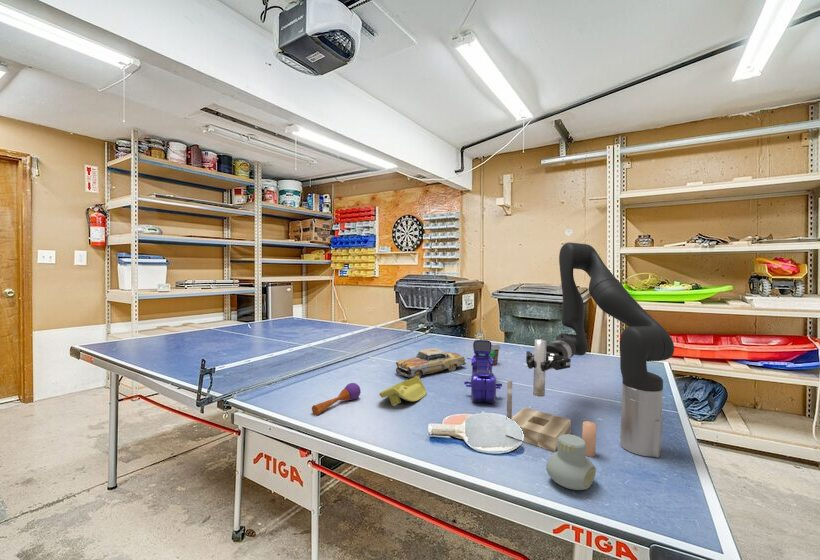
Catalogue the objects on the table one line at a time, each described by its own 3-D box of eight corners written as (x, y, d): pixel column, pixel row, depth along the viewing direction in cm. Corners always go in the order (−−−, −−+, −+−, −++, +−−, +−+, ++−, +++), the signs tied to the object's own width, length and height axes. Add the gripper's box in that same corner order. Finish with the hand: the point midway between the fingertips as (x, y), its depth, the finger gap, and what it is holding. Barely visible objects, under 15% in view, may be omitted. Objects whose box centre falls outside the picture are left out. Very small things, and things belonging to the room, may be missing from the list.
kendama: (307, 401, 121) (350, 380, 137) (311, 418, 121) (353, 396, 137) (319, 402, 117) (362, 380, 133) (322, 420, 118) (365, 396, 134)
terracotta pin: (596, 453, 97) (597, 423, 96) (593, 458, 94) (595, 428, 94) (583, 448, 99) (584, 420, 98) (580, 453, 96) (581, 424, 96)
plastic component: (399, 382, 144) (420, 374, 140) (406, 401, 143) (428, 393, 139) (373, 395, 126) (397, 387, 122) (380, 416, 125) (405, 408, 121)
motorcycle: (465, 374, 162) (466, 335, 161) (497, 376, 160) (498, 337, 159) (463, 405, 128) (464, 356, 127) (503, 408, 125) (504, 358, 124)
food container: (471, 362, 180) (471, 342, 180) (477, 360, 185) (478, 340, 184) (493, 367, 172) (493, 346, 171) (499, 365, 176) (500, 344, 176)
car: (391, 374, 162) (391, 352, 161) (450, 362, 181) (451, 342, 180) (407, 382, 152) (407, 358, 151) (468, 369, 171) (468, 347, 170)
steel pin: (546, 394, 107) (548, 340, 105) (542, 397, 104) (544, 342, 103) (535, 391, 109) (537, 338, 107) (531, 394, 106) (533, 340, 105)
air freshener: (563, 465, 91) (564, 426, 90) (598, 480, 85) (599, 438, 84) (541, 483, 83) (543, 441, 83) (578, 501, 77) (580, 455, 77)
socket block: (570, 432, 108) (572, 379, 107) (554, 452, 97) (556, 392, 96) (524, 419, 117) (525, 370, 116) (505, 435, 106) (506, 381, 105)
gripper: (534, 338, 121) (512, 349, 108) (580, 345, 112) (562, 358, 99) (533, 361, 121) (512, 374, 108) (579, 369, 113) (561, 385, 99)
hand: (536, 366), depth 104 cm, fingers closed on steel pin, 3 cm apart
